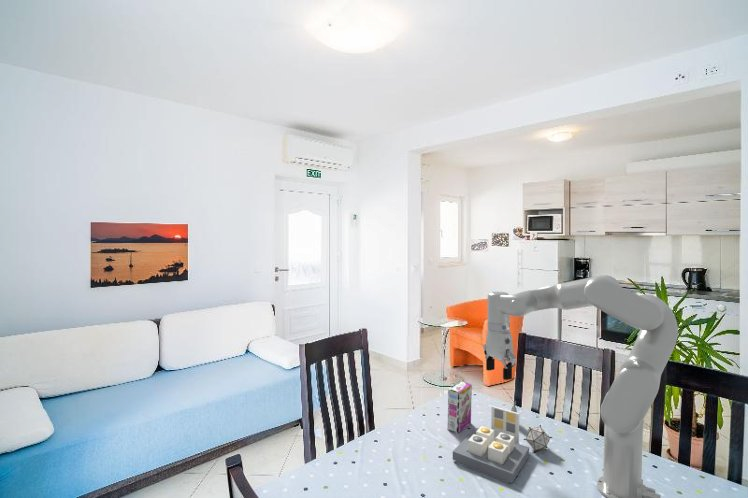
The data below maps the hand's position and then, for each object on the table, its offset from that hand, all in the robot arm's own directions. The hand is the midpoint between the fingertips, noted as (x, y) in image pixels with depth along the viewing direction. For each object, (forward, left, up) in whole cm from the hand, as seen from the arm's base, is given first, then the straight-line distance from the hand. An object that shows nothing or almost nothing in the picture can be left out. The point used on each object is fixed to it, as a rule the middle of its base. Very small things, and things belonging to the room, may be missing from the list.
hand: (498, 374), depth 136 cm
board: (0, +8, -27) cm, 28 cm away
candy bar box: (+18, -6, -27) cm, 33 cm away
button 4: (-4, +11, -25) cm, 27 cm away
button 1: (+3, +4, -25) cm, 25 cm away
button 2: (+3, +11, -25) cm, 27 cm away
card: (0, -6, -27) cm, 28 cm away
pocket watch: (+3, -19, -27) cm, 33 cm away
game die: (-11, -8, -27) cm, 31 cm away
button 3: (-4, +4, -25) cm, 25 cm away
